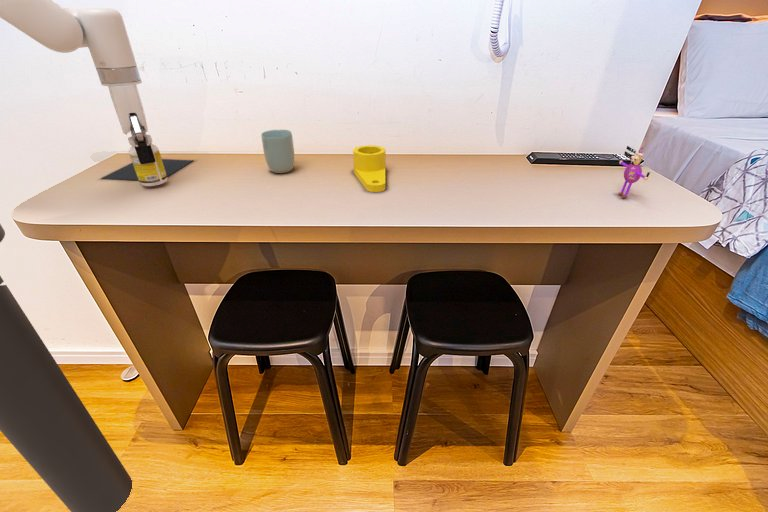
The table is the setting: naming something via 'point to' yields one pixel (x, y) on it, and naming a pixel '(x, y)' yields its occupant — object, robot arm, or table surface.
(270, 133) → the cup
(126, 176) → the mat
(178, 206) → the table surface
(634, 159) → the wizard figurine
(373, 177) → the crank
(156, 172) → the pill bottle
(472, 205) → the table surface
